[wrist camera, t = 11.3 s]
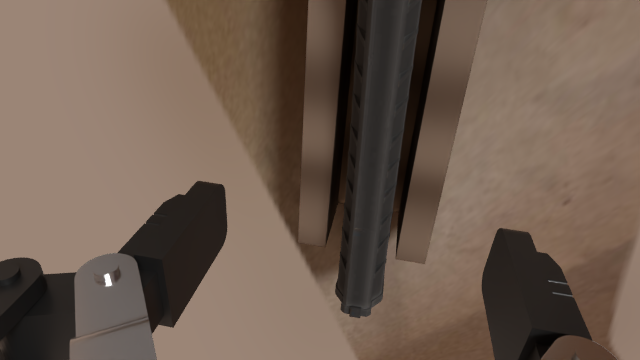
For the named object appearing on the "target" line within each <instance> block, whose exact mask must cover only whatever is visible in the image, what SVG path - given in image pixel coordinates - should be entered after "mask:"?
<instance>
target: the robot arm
mask: <svg viewBox="0 0 640 360" xmlns="http://www.w3.org/2000/svg"><path fill="white" fill-rule="evenodd" d="M226 234H227V214H226V199H225V188H224V186H223V185H222V184H215V183H209V182H202V181H197V182H196V183H195V184H194V185H193V186H192V188H191V189H190V190H189V191H188V192H187V193H186V195H180V194H178V195H177V196H175V197H173V198H171V199H169V200H167V201H166V202H164V203H163V204H162V205H161V206H160V207H159V208H158V209H157V211H156V212H155V213H154V215H152V216H151V217H150V218H149V219H148V220H147V222H146V224H144V225H143V226H142V227H141V228H140V229H139V230H138V231H137V232H136V233H135V234H134V235H133V237H132V238H131V239H130V240H129V241H128V242H127V243H126V244H125V245H124V246H123V247H122V248H121V250H120V251H119V252H118V253H113V254H106V255H102V256H99V257H96V258H94V259H92V260H90V261H88V262H87V263H85V264H84V265H83V266H81V268H80V269H79V270H78V271H77V272H75V273H62V274H61V273H60V274H43V271H42V268H41V265H40V264H39V263H38V262H37V261H36V260H34V259H30V258H13V259H8V260H5V261H1V262H0V360H157V358H156V353H155V348H154V343H153V338H152V333H153V332H154V330H155V329H156V327H157V326H158V325H163V326H168V327H174V325H175V324H176V322H177V321H178V319H179V317H180V316H181V314H182V312H183V311H184V309H185V307H186V305H187V304H188V302H189V301H190V299H191V297H192V296H193V294H194V292H195V291H196V289H197V287H198V286H199V284H200V283H201V281H202V279H203V278H204V276H205V274H206V273H207V271H208V269H209V268H210V266H211V264H212V263H213V261H214V260H215V258H216V256H217V255H218V253H219V251H220V250H221V248H222V246H223V244H224V242H225V238H226ZM482 293H483V299H484V304H485V309H486V315H487V320H488V325H489V331H490V336H491V341H492V346H493V352H494V357H495V360H617V359H616V357H615V356H614V355H612V354H611V353H610V352H609V351H608V350H607V349H605V348H604V347H602V346H601V345H599V344H597V343H596V342H594V341H592V338H591V336H590V334H589V331H588V329H587V327H586V324H585V322H584V320H583V318H582V315H581V313H580V311H579V308H578V306H577V304H576V301H575V299H574V298H572V292H571V290H570V288H569V285H567V281H566V279H565V276H564V274H563V272H562V269H561V267H560V266H559V265H558V264H557V263H556V262H555V261H554V260H553V259H552V258H551V257H550V256H549V255H548V254H546V253H540V252H537V251H536V248H535V245H534V243H533V240H532V238H531V235H530V234H529V233H528V232H523V231H516V230H510V229H503V228H500V229H498V231H497V233H496V235H495V238H494V241H493V244H492V247H491V250H490V253H489V256H488V259H487V262H486V265H485V268H484V272H483V277H482Z"/></svg>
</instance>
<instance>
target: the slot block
mask: <svg viewBox="0 0 640 360" xmlns="http://www.w3.org/2000/svg"><path fill="white" fill-rule="evenodd" d="M486 4H487V0H422V3H421V10H420V17H419V24H418V27H419V29H418V34H417V38H416V45H415V52H414V59H413V70H412V74H411V81H410V88H409V99H408V102H407V109H406V116H405V123H404V133H403V138H402V145H401V152H400V161H399V167H398V174H397V185H396V189H395V196H394V203H393V211H396V212H398V229H397V246H396V259H398V260H404V261H410V262H416V263H422V264H425V261H426V257H427V252H428V248H429V244H430V240H431V236H432V231H433V227H434V223H435V219H436V215H437V210H438V206H439V202H440V198H441V193H442V189H443V185H444V181H445V177H446V172H447V168H448V164H449V160H450V156H451V151H452V147H453V143H454V139H455V134H456V130H457V126H458V122H459V118H460V113H461V109H462V105H463V101H464V97H465V92H466V88H467V84H468V80H469V76H470V71H471V67H472V63H473V59H474V54H475V50H476V46H477V42H478V38H479V33H480V29H481V25H482V21H483V17H484V12H485V8H486ZM358 6H359V0H308V22H307V45H306V69H305V92H304V115H303V138H302V161H301V184H300V207H299V231H298V243H303V244H309V245H315V246H321V247H326V243H327V240H328V236H329V233H330V229H331V226H332V222H333V219H334V215H335V212H336V208H337V205H338V203H345V194H346V182H347V181H346V175H347V169H348V150H349V142H350V122H351V115H352V100H353V96H352V92H353V86H354V70H355V66H354V61H355V55H356V39H357V23H358Z"/></svg>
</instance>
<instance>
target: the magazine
mask: <svg viewBox="0 0 640 360" xmlns="http://www.w3.org/2000/svg"><path fill="white" fill-rule="evenodd" d="M421 3H422V0H359V6H358V23H357V39H356V55H355V61H354V66H355V70H354V86H353V92H352V96H353V100H352V115H351V122H350V142H349V150H348V169H347V175H346V181H347V182H346V194H345V203H344V219H343V226H342V241H341V252H340V263H339V273H338V280H337V283H336V289H335V293H336V295H337V297H338V298H339V299H340V301H341V302H342V303H341V311H342V312H344V313H347V314H350V315H349V316H350V317H356V318H360V316H365V317H367V316H369V315H370V314H371V308H372V307H374V306H375V305H376V304H378V303H379V302H381V300H382V297H383V286H384V271H385V263H386V255H387V248H388V240H389V236H390V225H391V218H392V213H393V203H394V196H395V189H396V185H397V174H398V167H399V161H400V152H401V145H402V138H403V133H404V123H405V116H406V109H407V102H408V99H409V88H410V81H411V74H412V70H413V59H414V52H415V45H416V38H417V34H418V29H419V27H418V24H419V17H420V10H421Z"/></svg>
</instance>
